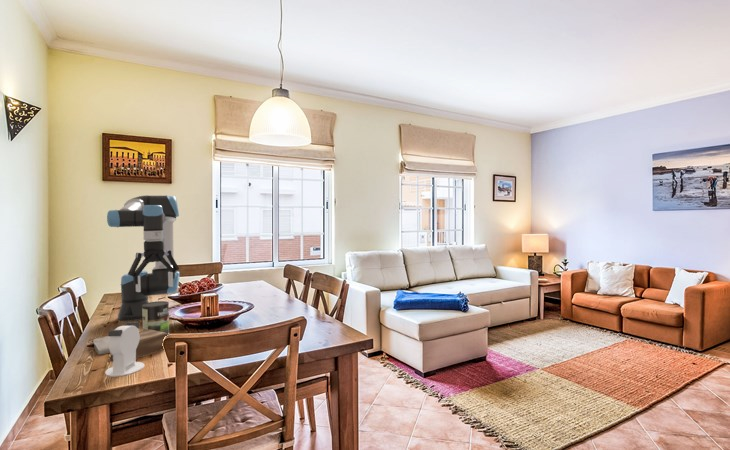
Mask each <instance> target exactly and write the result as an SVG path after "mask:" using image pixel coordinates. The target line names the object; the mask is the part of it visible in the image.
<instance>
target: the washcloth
mask: <svg viewBox="0 0 730 450" xmlns="http://www.w3.org/2000/svg"><path fill="white" fill-rule="evenodd" d="M109 341H110V336H101V337H97V338H94V339H93V340H92V343H93V347H94V350H95V352H96V354H97V355H101V356H102V355H105V354H111V353H110V350H109Z"/></svg>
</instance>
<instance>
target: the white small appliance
mask: <svg viewBox="0 0 730 450" xmlns="http://www.w3.org/2000/svg"><path fill="white" fill-rule="evenodd" d="M140 326H141V325H140V322H138V321H126V323H125V325H120V326H118V327H116V328H115V329H110V330H109V331H108V333H107V335H108V336H110V341H109V350H110V353H109V354H110V361H111V362H112V366H111V367H109V368H107V369H106V370H105V372H104V373H105V376H106V377H113V378H114V377H123V376H128V375H133V374H135V373H137V372H140V371H141V370H143V369H144V367H145V363H144V362H141V361H136V360H137V357H136V348H137V346H138V344H139V340H140V334H139V332H140V331H139V328H140Z"/></svg>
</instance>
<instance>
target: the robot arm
mask: <svg viewBox="0 0 730 450" xmlns="http://www.w3.org/2000/svg"><path fill="white" fill-rule="evenodd" d="M179 216H180V214H179V207H178V202H177V198H176V196H174V195H139V196H136V197H133V198H131V199H128V200H126V202H125V203H123V207H121V208H120V209H114V210H113V209H112V210H108V211H107V214H106V217H107V218H106V220H107V221H106V222H107V225H108V226H109V227H110V228H133V227H136V228H137V227H138V228H140V227H142V228H143V241H144V242H143V252H136V254H135V259H133V262H132V264H131V266H130V268H129V270H128V273H125V274H123V275H122V276H121V277H120V288H121V289H120V293H121V295H120V296H121V305H120V308H119V311H118V313H117V320H118V321H125V322H132V321H138V320H143V317H142V305H143V304H146V303H150V302H149V297H150V296H151V297H152V296H160V295H161V296H162V295H171V294H175V293H177V292H178V289H179V284H180V271H178V270H179V269H180V267H179V265H178V263H177V262H176V260H175V259H174V223H175V221H176V220H177V217H179ZM143 257H144V259H143V260H142V258H143ZM141 260H142V262H141ZM140 262H141V264H140V265H139V263H140ZM150 263H155V265H154V267H153V268H152V269H151V272H149V273H148V271H147V270H144V269H145V268H146V267H147V266H148V264H150Z"/></svg>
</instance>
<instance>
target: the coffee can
mask: <svg viewBox="0 0 730 450" xmlns="http://www.w3.org/2000/svg"><path fill="white" fill-rule="evenodd" d="M169 304H170V303H169V301H167V300H166V301H164V300H163V301H162V300H160V301H159V300H158V301H157V300H156V301H150V302H149V303H146V304H143V305H142V317H143V319H142V331H144V330H148V329H151V330H156V331H160V332H165V333H168V334H169V335H170V316H169V315H170V313H169V310H170V308H169V306H170V305H169Z"/></svg>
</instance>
